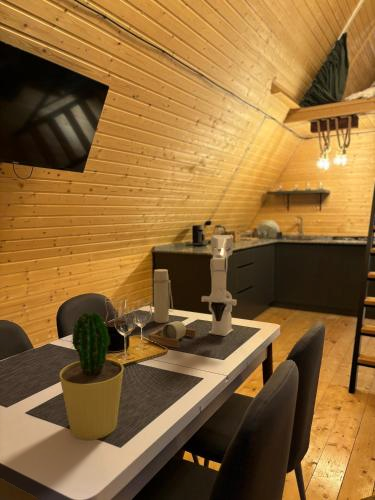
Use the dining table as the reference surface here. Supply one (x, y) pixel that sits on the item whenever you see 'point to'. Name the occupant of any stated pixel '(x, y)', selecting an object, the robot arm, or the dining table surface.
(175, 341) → the walnut bracket
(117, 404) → the potted cactus
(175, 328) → the ceramic mug
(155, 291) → the water bottle
